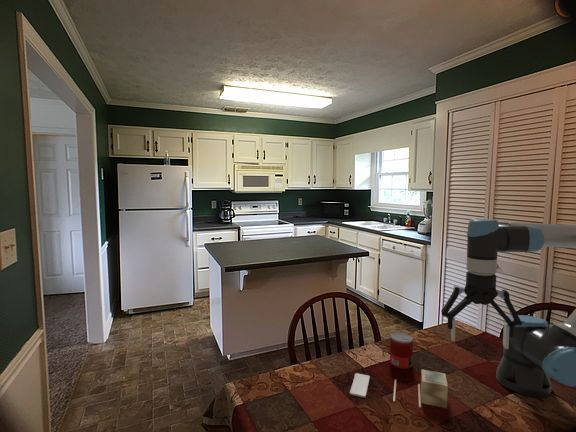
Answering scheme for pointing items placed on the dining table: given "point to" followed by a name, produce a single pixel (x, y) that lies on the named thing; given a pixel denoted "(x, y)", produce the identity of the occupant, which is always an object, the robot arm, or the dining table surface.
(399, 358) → the canned food
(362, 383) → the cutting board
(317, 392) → the dining table surface
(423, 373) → the tan cube
